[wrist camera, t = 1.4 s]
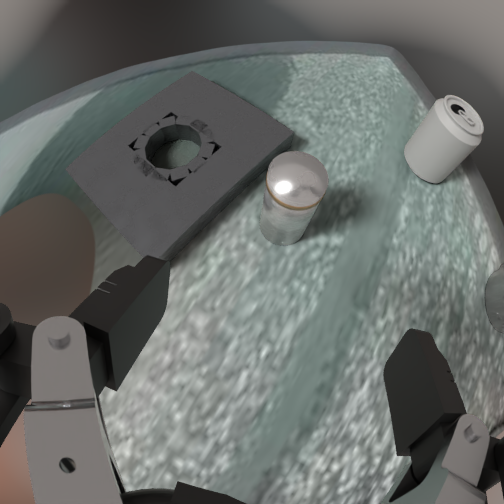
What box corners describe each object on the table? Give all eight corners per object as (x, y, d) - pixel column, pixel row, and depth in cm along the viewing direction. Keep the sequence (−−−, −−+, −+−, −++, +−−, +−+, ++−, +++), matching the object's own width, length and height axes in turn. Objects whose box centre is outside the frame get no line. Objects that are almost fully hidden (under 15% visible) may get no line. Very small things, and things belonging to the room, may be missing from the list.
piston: (279, 195, 35) (293, 141, 25) (314, 223, 34) (340, 176, 24) (249, 225, 33) (253, 176, 24) (285, 255, 32) (304, 215, 23)
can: (423, 139, 39) (461, 88, 28) (451, 179, 37) (496, 133, 26) (392, 148, 38) (429, 91, 26) (421, 192, 36) (470, 142, 24)
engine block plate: (194, 85, 40) (192, 71, 37) (290, 147, 37) (293, 132, 34) (75, 180, 34) (65, 169, 31) (158, 273, 31) (151, 265, 28)
